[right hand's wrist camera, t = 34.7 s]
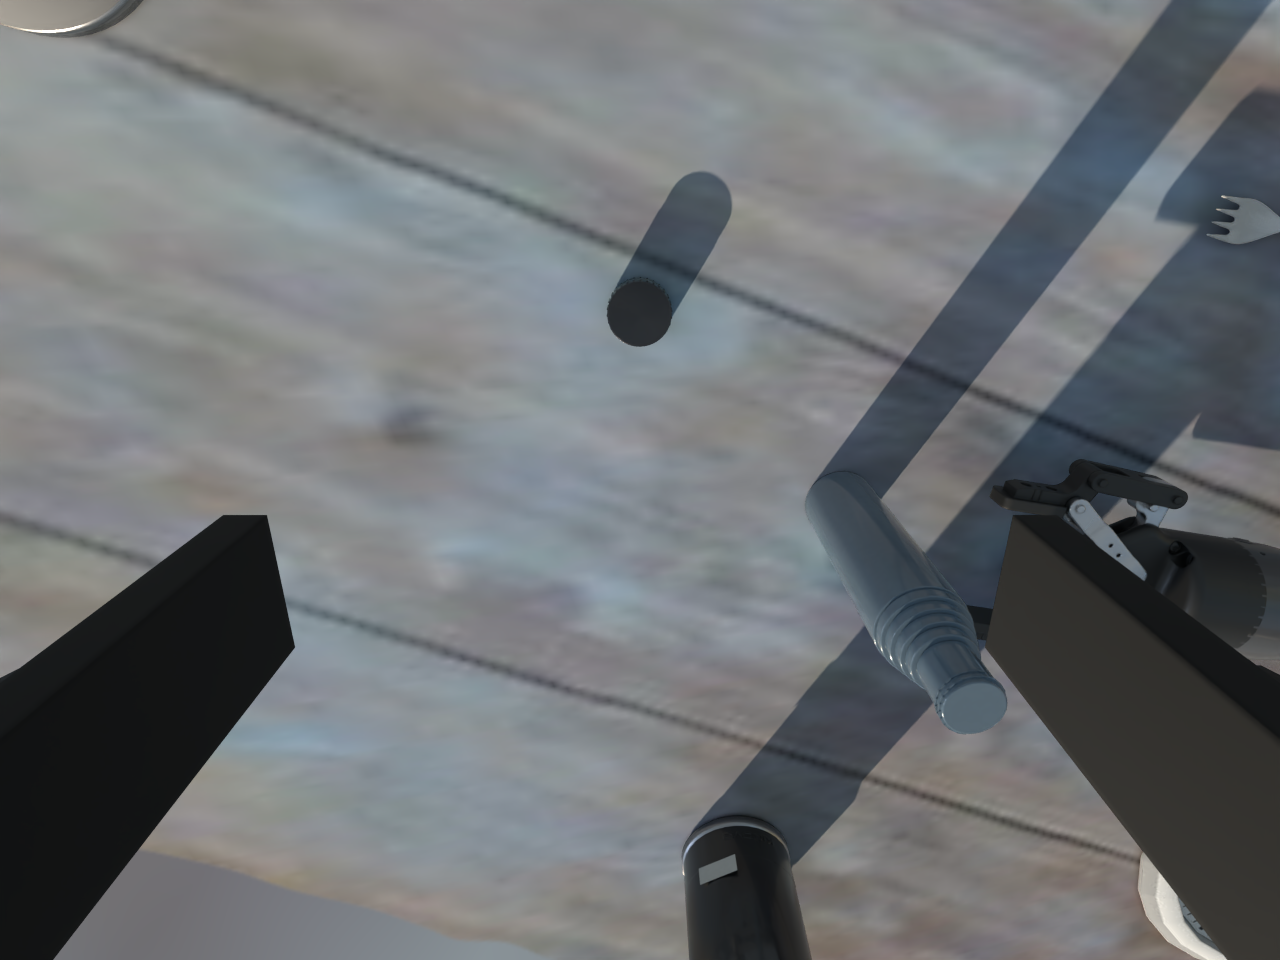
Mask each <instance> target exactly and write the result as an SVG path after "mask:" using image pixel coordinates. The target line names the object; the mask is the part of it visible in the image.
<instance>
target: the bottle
mask: <svg viewBox="0 0 1280 960" xmlns="http://www.w3.org/2000/svg"><path fill="white" fill-rule="evenodd" d="M805 510H806V514H807V517H808V519H809V521H810V523H811V525H812V527H813V528H814V530H815V532H816V534H817V536H818V538H819V540H820V542H821V544H822V545H823V547H824V549H825V551H826V553H827V555H828V557H829V559H830V560H831V562H832V564H833V566H834V568H835V570H836V572H837V574H838V576H839V577H840V579H841V581H842V583H843V585H844V587H845V589H846V591H847V592H848V594H849V596H850V598H851V600H852V602H853V604H854V606H855V608H856V609H857V611H858V613H859V615H860V617H861V619H862V621H863V623H864V624H865V626H866V628H867V630H868V632H869V634H870V636H871V638H872V640H873V641H874V643H875V645H876V647H877V649H878V651H879V652H880V653H881V654H882V655H883V656H884V657H885V659H886V660H887V661H888V662H889V663H890V664H891V665H892V666H893V667H895V668H896V669H898V670H899V671H900V672H901V673H902V674H904V675H905V676H907V677H908V678H909V679H910V680H912V681H913V682H915V683H916V684H917V685H918V686H920V687H921V688H923V689H925V690H926V691H927V693H928V695H929V697H930V698H931V700H932V702H933V703H934V706H935V710H936V713H937V714H938V716H939V718H940V719H941V721H942V723H943V724H944V725H945V726H946V727H947V728H949V729H950V730H952V731H954V732H956V733H959V734H974V733H980V732H983V731H986V730H988V729H990V728H992V727H993V726H995V725H996V724H997V723H998V722H999V721H1000V720H1001V719H1002V717H1003V716H1004V714H1005V712H1006V709H1007V698H1006V694H1005V690H1004V688H1003V686H1002V685H1001V683H999V682H998V681H997V680H996V679H994V678H993V676H992V675H991V674H990V672H989V671H988V670H987V668H986V667H985V666H984V664H983V663H982V662H981V654H980V650H979V644H978V640H977V637H976V631H975V628H974V622H973V619H972V616H971V614H970V613H969V611H968V608H967V606H966V604H965V603H964V601H963V600H962V599H961V597H960V596H959V595H958V594H957V592H956V591H955V590H954V589H953V587H952V586H951V585H950V584H949V582H948V581H947V580H946V579H945V578H944V576H943V575H942V574H941V573H940V571H939V570H938V569H937V568H936V566H935V565H934V564H933V563H932V562H931V560H930V559H929V558H928V557H927V555H926V554H925V553H924V552H923V550H922V549H921V548H920V547H919V545H918V544H917V543H916V542H915V541H914V539H913V538H912V537H911V536H910V534H909V533H908V532H907V531H906V529H905V528H904V527H903V526H902V524H901V523H900V522H899V521H898V520H897V518H896V517H895V516H894V515H893V513H892V512H891V511H890V510H889V508H888V507H887V506H886V505H885V504H884V502H883V501H882V500H881V499H880V497H879V496H878V495H877V494H876V492H875V491H874V490H873V489H872V487H871V486H870V485H869V484H868V483H867V481H866V480H865V479H863V478H862V477H861V476H859V475H857V474H854V473H851V472H834V473H831V474H828V475H826V476H824V477H822V478H821V479H819V480H818V481H817V482H816V483H815V484H814V485H813V486H812V487H811V489H810V490H809V492H808V494H807V497H806V501H805Z"/></svg>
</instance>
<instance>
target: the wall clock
mask: <svg viewBox="0 0 1280 960" xmlns="http://www.w3.org/2000/svg"><path fill="white" fill-rule="evenodd" d="M1138 890H1139V894H1140V897H1141V900H1142V903H1143V907H1144V910H1145V913H1146V916H1147V917H1148V919H1149V920H1150V921H1151V922H1152V924H1153V925H1154V926H1155V927H1156V928H1157V929H1158V931H1159V932H1160V933H1161V934H1162V935H1163V937H1164V938H1165V939H1166V940H1167V941H1168V942H1169V943H1171V944H1173V945H1174V946H1176V947H1178V948H1180V949H1181V950H1183V951H1185V952H1186V953H1188V954H1190V955H1192V956H1193V957H1195V958H1198V959H1201V960H1227V959H1226V958H1225V957H1224V955H1223V954H1222V953H1221V951H1220V950H1219V949H1218V948H1217V946H1216V945H1215V944H1214V942H1213V941H1212V940H1211V939H1210V937H1209V936H1208V935H1207V933H1206V932H1205V931H1204V929H1203V928H1202V927H1201V926H1200V924H1199V923H1198V922H1197V920H1196V919H1195V918H1194V917H1193V915H1192V914H1191V913H1190V911H1189V910H1188V909H1187V908H1186V906H1185V905H1184V904H1183V902H1182V901H1181V900H1180V899H1179V897H1178V896H1177V895H1176V893H1175V892H1174V891H1173V889H1172V888H1171V887H1170V886H1169V884H1168V883H1167V882H1166V880H1165V879H1164V878H1163V877H1162V875H1161V874H1160V873H1159V871H1158V870H1157V869H1156V868H1155V866H1154V865H1153V864H1152V862H1151V861H1150V860H1149V858H1148V857H1147V856H1146V855H1145V853H1144V852H1143V853H1142V855H1141V860H1140V871H1139V881H1138Z"/></svg>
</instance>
